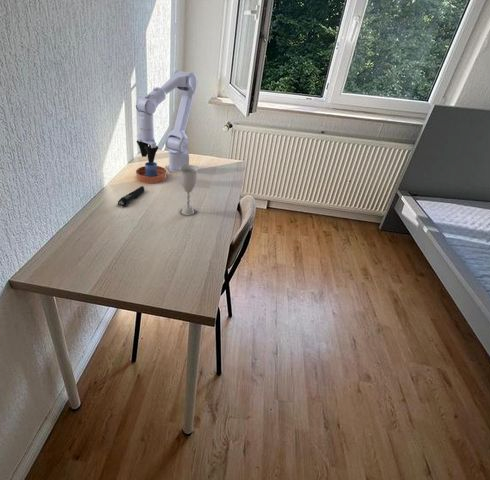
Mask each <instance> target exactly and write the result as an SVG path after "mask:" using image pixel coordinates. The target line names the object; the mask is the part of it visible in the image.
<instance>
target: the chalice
mask: <svg viewBox="0 0 490 480" xmlns="http://www.w3.org/2000/svg"><path fill="white" fill-rule="evenodd" d="M179 169H180V171H179V172H180V183H181V186H182V188H183V190H184V192H185V193H186V196H185V197H186V200H185V202H186V205H184V206H183V207H182V209H181V214H183V215H185V216H192V215H194V214H195V210H194V208H193V206H192V205H191V204H190V203H191V200H190V198H191V195H190V193H191V192H193V190H194V188H195V186H196V183H197V172H198V170H199V167H198V166H196V165H194V164H189V165H184V166H181V167H180V168H179Z"/></svg>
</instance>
